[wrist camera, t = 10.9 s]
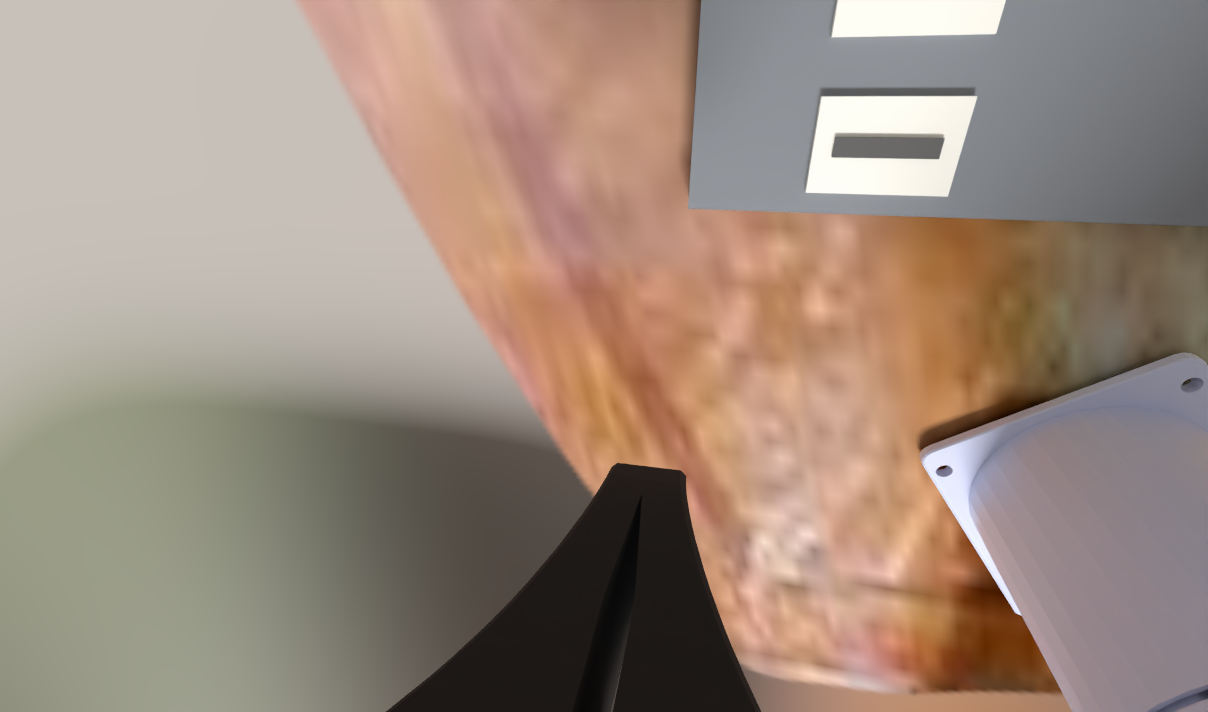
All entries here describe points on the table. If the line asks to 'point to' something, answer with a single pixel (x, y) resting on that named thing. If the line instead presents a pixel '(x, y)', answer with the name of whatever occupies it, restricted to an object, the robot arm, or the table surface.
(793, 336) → the table surface
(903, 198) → the label board
